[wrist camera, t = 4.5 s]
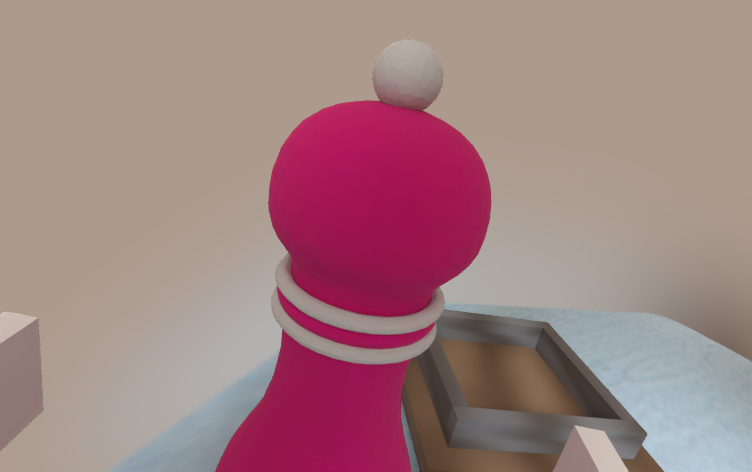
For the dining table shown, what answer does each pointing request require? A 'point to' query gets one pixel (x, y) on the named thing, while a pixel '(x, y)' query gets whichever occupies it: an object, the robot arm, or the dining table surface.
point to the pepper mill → (362, 270)
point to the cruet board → (508, 399)
